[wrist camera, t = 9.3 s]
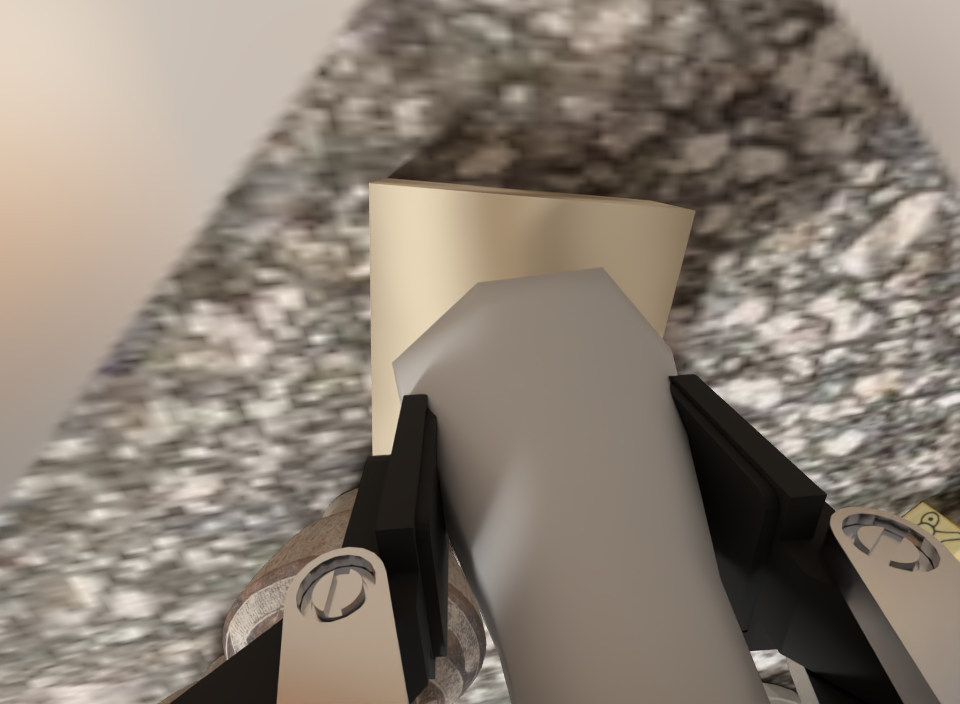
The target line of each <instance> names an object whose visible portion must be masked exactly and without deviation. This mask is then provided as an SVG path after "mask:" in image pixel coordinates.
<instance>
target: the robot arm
mask: <svg viewBox="0 0 960 704" xmlns="http://www.w3.org/2000/svg"><path fill="white" fill-rule="evenodd" d="M669 379H670V381H672V382H671V383H670V392H671V395H672V398H673V400H674V403H675V405H676V408H677V410H678V413H679V415H680V418H681V420H682V423H683V425H684V428H685V430H686V433H687V435H688V439H689V445H690V449H691V454H692V458H693V462H694V467H695V471H696V475H697V480H698V484H699V488H700V492H701V497H702V501H703V505H704V510H705V514H706V518H707V523H708V527H709V531H710V536H711V540H712V544H713V549H714V553H715V557H716V562H717V566H718V570H719V575H720V579H721V582H722V584H723V587H724V589H725V592H726V594H727V597H728V599H729V602H730V604H731V606H732V609H733V611H734V614H735V616H736V619H737V621H738V624H739V626H740V629H741V631H742V634H743V636H744V639H745V641H746V644H747V646H748V649H749V651H759V650H770V649H778V651H779V652H780V654H782V655H784V656H786V659H787V664H788V668H789V671H790V674H791V676H792V679H793V682H794V684H795V687H796V689H797V692H798V694H797V693H795V692H794V691H792V690H789V689H786V688H784V687H781V686H778V685H774V684H768V683H763V682H762V683H763V686H764V688H765V691H766V693H767V696H768V698H769V701H770V703H771V704H960V562H959V561H958V560H957V559H956V558H955V557H954V555H953V554H952V553H951V552H950V551H949V550H948V549H947V548H946V547H945V546H944V545H943V544H942V543H941V542H940V541H939V540H938V539H937V538H936V537H934V536H933V535H932V534H930V533H929V532H927V531H926V530H924V529H923V528H921V527H920V526H918V525H916V524H914V523H912V522H910V521H908V520H906V519H904V518H902V517H899V516H897V515H894V514H891V513H888V512H885V511H882V510H877V509H872V508H866V507H846V508H843V509H839V510H837V511H835V510H834V509H833V508H832V507H830V506H829V505H828V504H827V503H826V502H825V499H826V496H827V494H826V493H825V492H824V491H823V490H821V489H820V488H819V487H818V486H817V485H816V484H815V483H814V482H813V481H812V480H810V479H809V478H808V477H807V476H806V475H805V474H804V473H803V472H802V471H801V470H800V469H798V468H797V467H796V466H795V465H794V464H793V463H792V462H791V461H790V460H789V459H787V458H786V457H785V456H784V455H783V454H782V453H781V452H780V451H779V450H778V449H777V448H775V447H774V446H773V445H772V444H771V443H770V442H769V441H768V440H767V439H766V438H764V437H763V436H762V435H761V434H760V433H759V432H758V431H757V430H756V429H755V428H754V427H752V426H751V425H750V424H749V423H748V422H747V421H746V420H745V419H744V418H743V417H741V416H740V415H739V414H738V413H737V412H736V411H735V410H734V409H733V408H732V407H730V406H729V405H728V404H727V403H726V402H725V401H724V400H723V399H722V398H721V397H720V396H718V395H717V394H716V393H715V392H714V391H713V390H712V389H711V388H710V387H709V386H707V385H706V384H705V383H704V382H703V381H702V380H701V379H700V378H699V377H698V376H696V375H694V374H690V375H676V376H669ZM448 568H449V537H448V534H447V532H446V526H445V519H444V511H443V504H442V497H441V490H440V483H439V476H438V469H437V416H436V415H435V414H434V413H433V412H432V411H431V410H430V409H429V408H428V407H427V395H426V394H413V395H404V396H403V400H402V405H401V409H400V414H399V419H398V423H397V428H396V433H395V437H394V442H393V447H392V452H391V454H389V455H376V456H369V457H368V459H367V461H366V464H365V468H364V471H363V475H362V478H361V481H360V485H359V488H358V492H357V495H356V499H355V502H354V506H353V509H352V513H351V516H350V520H349V523H348V526H347V530H346V533H345V537H344V540H343V544H342V547H341V549H335V550H332V551H330V552H327V553H325V554H322V555H320V556H319V557H317V558H316V559H314V560H312V561H311V562H309V563H308V564H307V565H306V566H305V567H304V568H303V569H302V570H301V571H300V572H299V573H298V574H297V575H296V576H295V578H294V579H293V581H292V583H291V584H290V586H289V587H288V590H287V594H286V598H285V602H284V615H283V618H282V619H281V620H280V621H278V622H277V623H276V624H274V625H273V626H272V627H270V628H269V629H268V630H266V631H265V632H264V633H262V634H261V635H260V636H258V637H257V638H256V639H255V640H253V641H252V642H251V643H249V644H248V645H247V646H245V647H244V648H243V649H241V650H240V651H239V652H237V653H236V654H235V655H233V656H232V657H231V658H229V659H228V660H227V661H225V662H224V663H223V664H221V665H220V666H219V667H217V668H216V669H215V670H213V671H212V672H211V673H209V674H208V675H207V676H205V677H204V678H203V679H201V680H200V681H199V682H197V683H196V684H195V685H193V686H192V687H191V688H189V689H188V690H187V691H185V692H184V693H183V694H181V695H180V696H179V697H177V698H176V699H175V700H173V701H172V702H171V703H169V704H411V703H412V702H413V701H414V700H415V699H416V698H417V696H418V695H419V694H420V693H421V692H422V691H423V690H424V689H425V688H426V687H427V685H428V682H429V679H435V669H436V657H445V656H447V635H448Z"/></svg>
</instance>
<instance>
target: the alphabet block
mask: <svg viewBox="0 0 960 704" xmlns="http://www.w3.org/2000/svg"><path fill="white" fill-rule="evenodd" d="M902 518H904V519H906V520H908V521H910V522H912V523H914V524H916V525H918V526H920V527H921V528H923V529H924V530H926V531H927V532H929V533H930V534H932V535H933V536H934V537H936V538H937V539H938V540H939V541H940V542H941V543H942V544H943V545H944V546H945V547H946V548H947V549H948V550H949V551H950V552H951V553H952V554H953V555H954V557H955V558H956V559H957V560H958V561H959V562H960V527H958V526H957V525H955V524H954V523H953V522H951V521H950V520H948V519H947V518H946V517H944V516H943V515H941V514H940V513H939V512H937V511H936V510H934V509H933V508H932V507H930V506H929V505H927V504H926V503H925V502H921V503H919V504H918V505H917V506H916V507H914V508H913V509H912V510H910V511H909V512H908V513H907V514H905V515H904V516H903V517H902Z"/></svg>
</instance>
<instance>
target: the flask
mask: <svg viewBox="0 0 960 704" xmlns="http://www.w3.org/2000/svg"><path fill="white" fill-rule="evenodd" d="M392 366H393V371H394V375H395V380H396V385H397V390H398V394H399V399H400V404H401V405H402V400H403V396H404V395H413V394H426V395H427V407H428V408H429V409H430V410H431V411H432V412H433V413H434V414H435V415H436V416H437V469H438V476H439V483H440V490H441V497H442V504H443V511H444V519H445V526H446V532H447V534H448V537H449V539H450V541H451V543H452V546H453V548H454V550H455V553H456V555H457V558H458V560H459V562H460V565H461V567H462V569H463V572H464V574H465V576H466V579H467V581H468V584H469V586H470V588H471V591H472V593H473V595H474V598H475V600H476V603H477V605H478V607H479V610H480V612H481V614H482V617H483V619H484V622H485V624H486V626H487V629H488V631H489V633H490V636H491V638H492V640H493V643H494V645H495V648H496V650H497V652H498V655H499V657H500V661H501V665H502V669H503V672H504V676H505V680H506V684H507V688H508V692H509V696H510V700H511V703H512V704H771V703H770V701H769V698H768V696H767V693H766V691H765V688H764V686H763V683H762V681H761V678H760V676H759V673H758V671H757V668H756V666H755V663H754V661H753V659H752V656H751V654H750V651H749V649H748V646H747V644H746V641H745V639H744V636H743V634H742V631H741V629H740V626H739V624H738V621H737V619H736V616H735V614H734V611H733V609H732V606H731V604H730V602H729V599H728V597H727V594H726V592H725V589H724V587H723V584H722V582H721V579H720V575H719V570H718V566H717V562H716V557H715V553H714V549H713V544H712V540H711V536H710V531H709V527H708V523H707V518H706V514H705V510H704V505H703V501H702V497H701V492H700V488H699V484H698V480H697V475H696V471H695V467H694V462H693V458H692V454H691V449H690V445H689V439H688V435H687V433H686V430H685V428H684V425H683V423H682V420H681V418H680V415H679V413H678V410H677V408H676V405H675V403H674V400H673V398H672V395H671V392H670V383H671V382H672V381H670V379H669V376H676V375H677V371H676V366H675V362H674V358H673V353H672V350H671V348H670V347H669V346H668V345H667V344H666V342H665V341H664V340H663V339H662V338H661V336H660V335H659V334H658V333H657V332H656V330H655V329H654V328H653V327H652V326H651V324H650V323H649V322H648V321H647V320H646V318H645V317H644V316H643V315H642V314H641V313H640V311H639V310H638V309H637V308H636V307H635V305H634V304H633V303H632V302H631V301H630V299H629V298H628V297H627V296H626V295H625V293H624V292H623V291H622V290H621V289H620V287H619V286H618V285H617V284H616V283H615V281H614V280H613V279H612V278H611V277H610V276H609V274H608V273H607V272H606V271H605V270H604V268H603V267H600V268H592V269H583V270H575V271H567V272H559V273H551V274H543V275H535V276H527V277H519V278H511V279H503V280H494V281H486V282H478V283H477V284H476V285H474V286H473V287H472V288H471V289H470V290H469V291H468V292H467V293H466V294H465V295H464V296H463V297H462V298H461V299H460V300H458V301H457V302H456V303H455V304H454V305H453V306H452V307H451V308H450V309H449V310H448V311H447V312H446V313H445V314H444V315H442V316H441V317H440V318H439V319H438V320H437V321H436V322H435V323H434V324H433V325H432V326H431V327H430V328H429V329H428V330H427V331H425V332H424V333H423V334H422V335H421V336H420V337H419V338H418V339H417V340H416V341H415V342H414V343H413V344H412V345H411V346H409V347H408V348H407V349H406V350H405V351H404V352H403V353H402V354H401V355H400V356H399V357H398V358H397V359H396V360H395V361H393V362H392Z"/></svg>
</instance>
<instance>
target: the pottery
mask: <svg viewBox="0 0 960 704" xmlns="http://www.w3.org/2000/svg"><path fill="white" fill-rule="evenodd" d="M357 492H358V488H357V489H354V490H352V491H349V492H347V493H345V494H342V495H341V496H339V497H338V498H336V499H335V500H334V501H333V502H332V503H331V504H330V505H329V507H328V508H327V509H326V511H325V512H324V515H323V517H322V518H321V519H319V520H318V521H316V522H314V523H312V524H310V525H309V526H307V527H306V528H304V529H303V530H302V531H300V532H299V533H298V534H296V535H295V536H294V537H293V538H292V539H291V540H289V541H288V542H287V543H286V544H285V545H284V546H283V547H282V548H281V549H280V550H279V551H278V552H277V553H276V554H275V555H274V556H273V557H272V558H271V559H270V560H269V561H268V562H267V563H266V564H265V565H264V567H262V568H261V570H260V571H259V572H258V573H257V574H256V575H255V576H254V577H253V579H252V580H251V582H250V583H249V584H248V585H247V587H246V588H245V589H244V590H243V592H242V593H241V594H240V595H239V597H238V598H237V600H236V601H235V602H234V604H233V605H232V608H231V609H230V611H229V613H228V615H227V617H226V620H225V623H224V627H223V633H222V641H223V649H224V655H223V656H221V657H219V658H218V659H217V660H215V661H214V662H213V663H212V664H211V665H210V666H209V668H208V669H207V671H206V672H205V674H204V676H203V678H204V677H205V676H207V675H208V674H209V673H211V672H212V671H213V670H215V669H216V668H217V667H219V666H220V665H221V664H223V663H224V662H225V661H227V660H228V659H229V658H231V657H232V656H233V655H235V654H236V653H237V652H239V651H240V650H241V649H243V648H244V647H245V646H247V645H248V644H249V643H251V642H252V641H253V640H255V639H256V638H257V637H258V636H260V635H261V634H262V633H264V632H265V631H266V630H268V629H269V628H270V627H272V626H273V625H274V624H276V623H277V622H278V621H280V620H281V619H282V618H283V615H284V602H285V598H286V594H287V590H288V587H289V586H290V584H291V583H292V581H293V579H294V578H295V576H296V575H297V574H298V573H299V572H300V571H301V570H302V569H303V568H304V567H305V566H306V565H307V564H308V563H309V562H311V561H312V560H314V559H316V558H317V557H319V556H320V555H322V554H325V553H327V552H330V551H332V550H335V549H341V547H342V544H343V540H344V537H345V533H346V530H347V526H348V523H349V520H350V516H351V513H352V509H353V506H354V502H355V499H356V495H357ZM485 651H486V636H485V630H484V627H483V622H482V618H481V614H480V610H479V607H478V605H477V603H476V600H475V598H474V595H473V593H472V591H471V588H470V586H469V584H468V581H467V579H466V577H465V576H464V574H463V572H462V570H461V568H460V566H459V565H458V563H457V561H456V559H455V557H454V556H453V554H452V553H451V552H450V550H449V568H448V635H447V656H445V657H436V669H435V679H429V682H428V685H427V687H426V688H425V689H424V690H423V691H422V692H421V693H420V694H419V695H418V696H417V698H416V699H415V700H414V701H413V702H412V703H411V704H453V703H455V702H456V701H457V700H458V699H459V698H460V697H461V696H462V695H463V694H464V693H465V692H466V690H467V689H468V688H469V686H470V685H471V684H472V683H473V681H474V680H475V678H476V677H477V675H478V673H479V671H480V669H481V667H482V664H483V661H484V657H485ZM203 678H202V679H203ZM197 682H199V681H197ZM197 682H195V683H193V684H191V685H188V686H186V687H184V688H183V689H181V690H179V691H177V692H175V693H173V694H172V695H170V696H168V697H167V698H165V699H164V700H163V701H161V702H160V703H158V704H169V703H171V702H172V701H173V700H175V699H176V698H177V697H179V696H180V695H181V694H183V693H184V692H185V691H187V690H188V689H189V688H191V687H192V686H193V685H195V684H196V683H197Z"/></svg>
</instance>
